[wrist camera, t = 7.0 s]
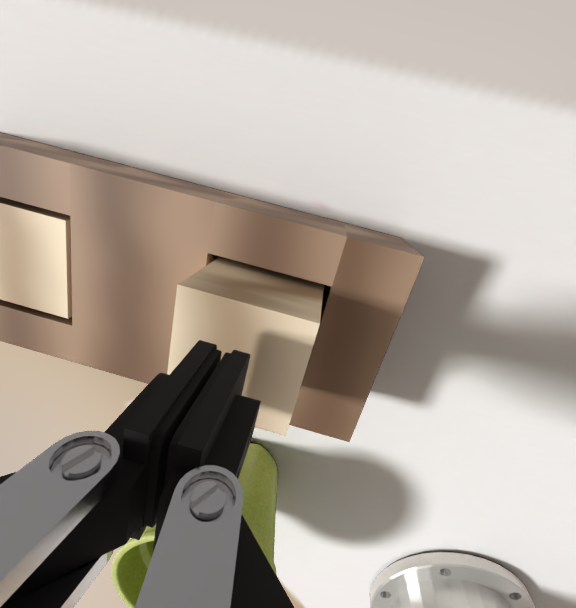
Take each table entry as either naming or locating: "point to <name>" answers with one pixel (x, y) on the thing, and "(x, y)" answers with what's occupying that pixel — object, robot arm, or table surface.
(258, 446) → the plant pot
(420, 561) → the robot arm
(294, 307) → the peg near
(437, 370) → the table surface
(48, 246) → the peg far
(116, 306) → the peg board
